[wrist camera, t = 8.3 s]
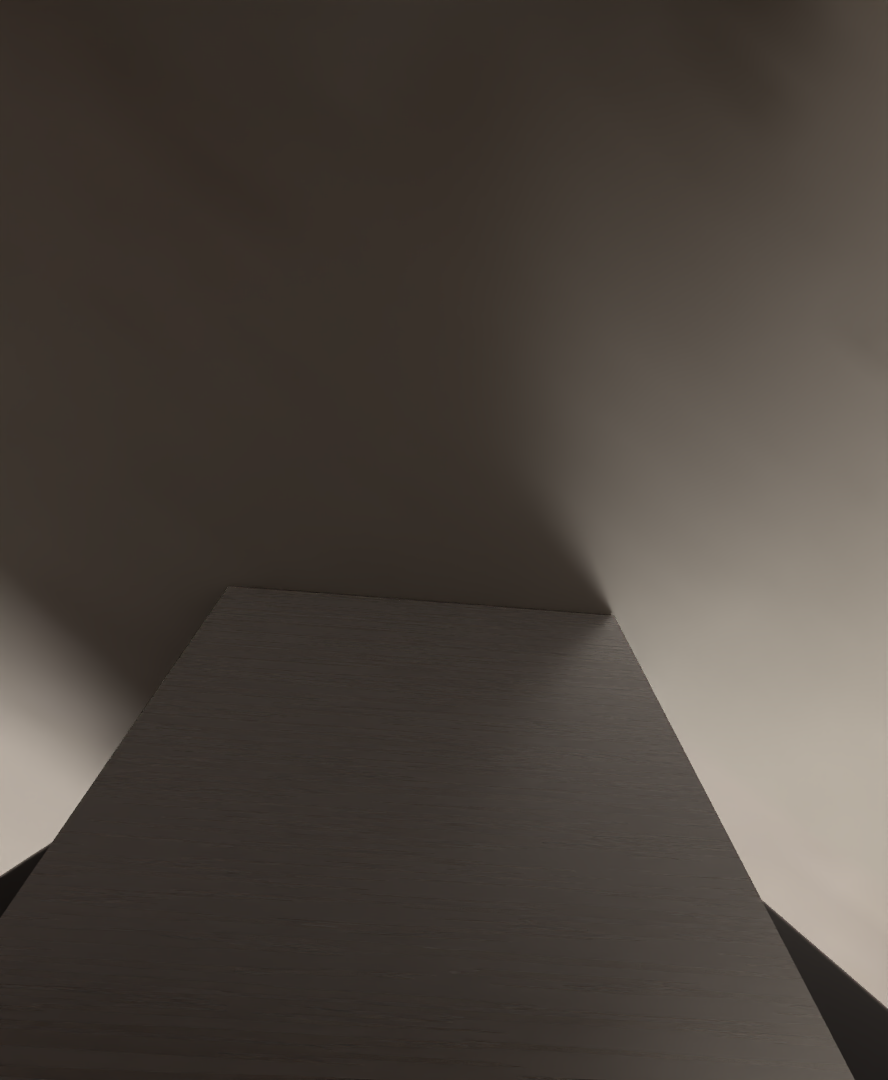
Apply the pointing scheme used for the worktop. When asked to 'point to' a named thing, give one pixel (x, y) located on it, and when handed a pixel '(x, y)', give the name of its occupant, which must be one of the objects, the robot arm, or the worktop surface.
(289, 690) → the block
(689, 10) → the worktop surface
